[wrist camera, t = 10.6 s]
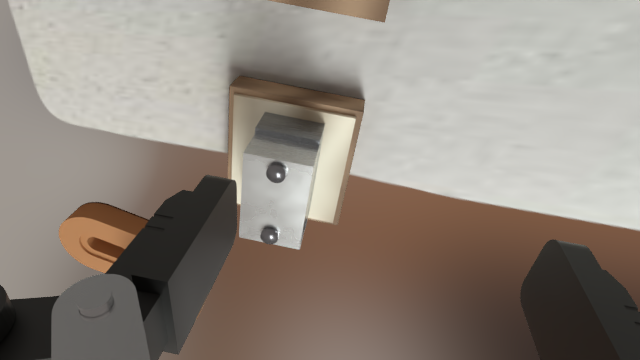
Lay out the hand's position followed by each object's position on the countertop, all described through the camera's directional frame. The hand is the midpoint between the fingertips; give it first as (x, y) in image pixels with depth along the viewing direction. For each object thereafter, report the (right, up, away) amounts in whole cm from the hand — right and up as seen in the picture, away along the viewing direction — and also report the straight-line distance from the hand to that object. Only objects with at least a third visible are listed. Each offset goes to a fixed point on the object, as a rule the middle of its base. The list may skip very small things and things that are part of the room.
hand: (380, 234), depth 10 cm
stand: (-4, +4, +27) cm, 27 cm away
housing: (-4, +3, +24) cm, 25 cm away
